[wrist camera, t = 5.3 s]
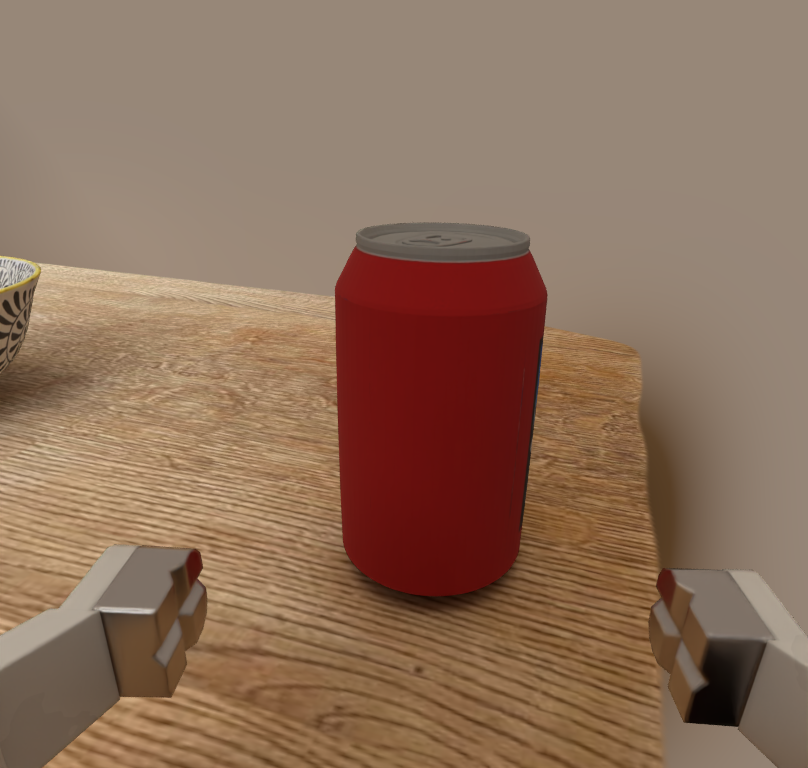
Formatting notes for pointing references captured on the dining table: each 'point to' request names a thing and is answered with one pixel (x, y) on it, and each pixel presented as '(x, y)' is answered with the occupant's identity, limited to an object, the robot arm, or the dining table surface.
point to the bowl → (15, 304)
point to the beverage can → (436, 401)
